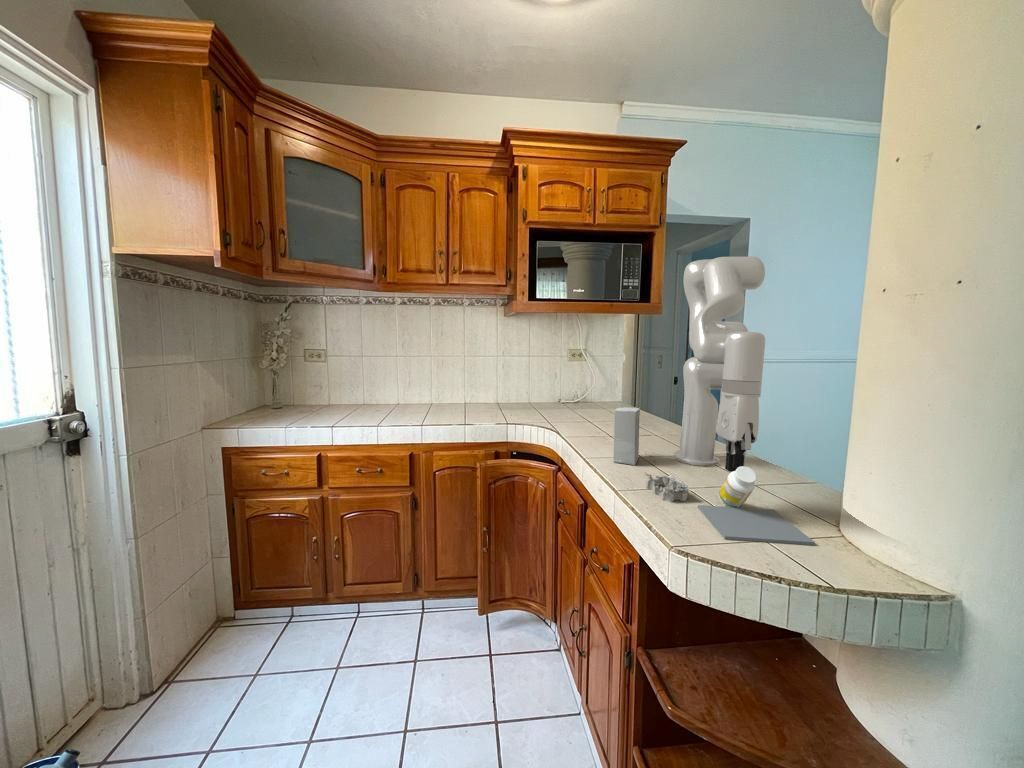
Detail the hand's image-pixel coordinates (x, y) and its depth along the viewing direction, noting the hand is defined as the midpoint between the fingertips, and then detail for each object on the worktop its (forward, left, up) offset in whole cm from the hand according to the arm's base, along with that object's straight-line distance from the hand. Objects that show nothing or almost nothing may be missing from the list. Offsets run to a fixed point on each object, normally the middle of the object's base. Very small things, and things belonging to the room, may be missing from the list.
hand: (733, 470), depth 91 cm
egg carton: (-6, -12, -9) cm, 16 cm away
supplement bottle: (-1, 0, -7) cm, 7 cm away
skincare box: (-30, -18, -8) cm, 36 cm away
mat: (+9, 0, -8) cm, 12 cm away
